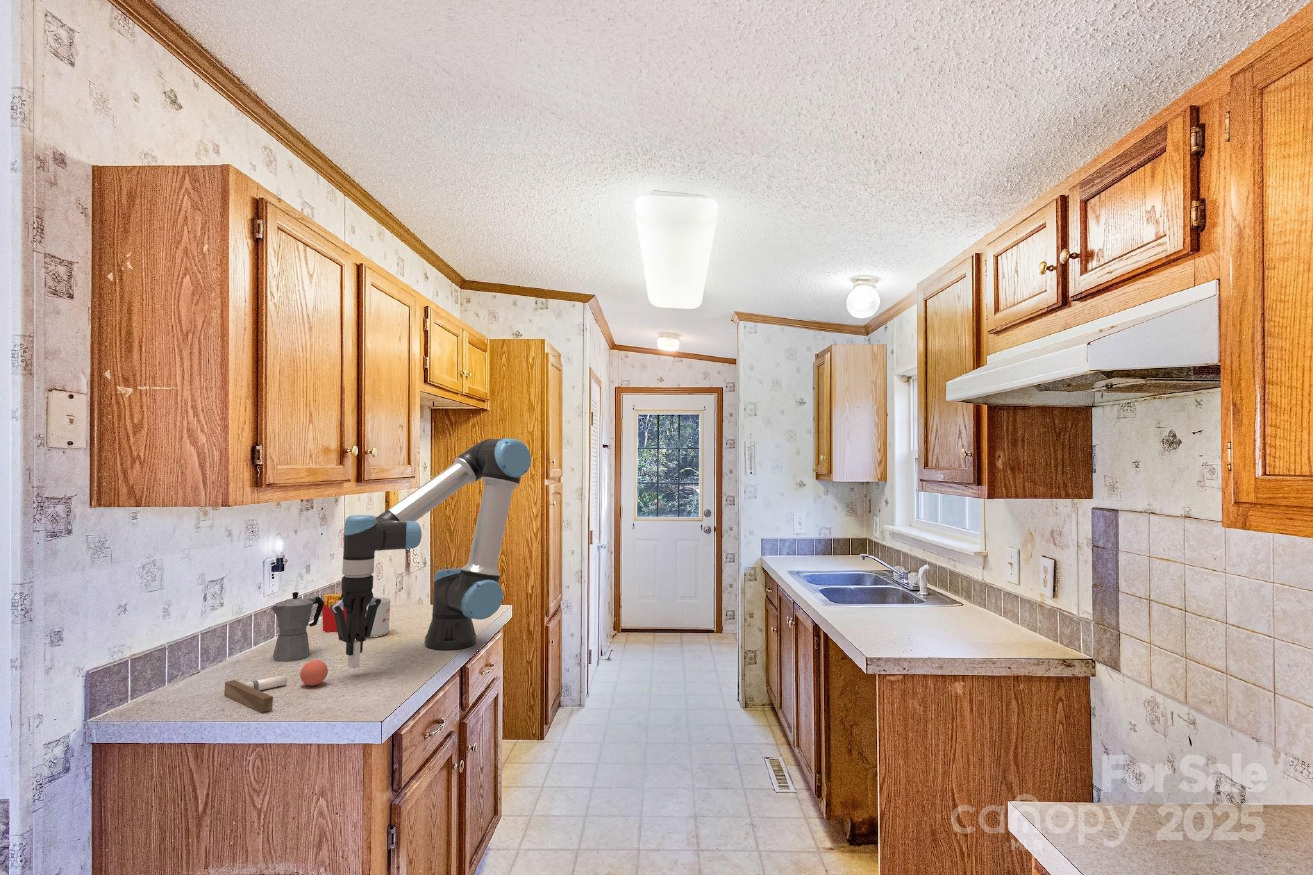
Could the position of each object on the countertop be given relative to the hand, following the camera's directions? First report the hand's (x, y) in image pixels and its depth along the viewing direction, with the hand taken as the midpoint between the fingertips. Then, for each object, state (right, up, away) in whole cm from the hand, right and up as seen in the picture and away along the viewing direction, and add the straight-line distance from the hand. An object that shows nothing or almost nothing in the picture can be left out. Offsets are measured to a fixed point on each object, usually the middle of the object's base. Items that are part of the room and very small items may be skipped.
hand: (353, 666), depth 167 cm
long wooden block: (-14, -1, -21) cm, 25 cm away
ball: (-6, +1, -8) cm, 10 cm away
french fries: (-26, -4, +43) cm, 51 cm away
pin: (-13, 0, -9) cm, 15 cm away
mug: (-13, -4, +39) cm, 41 cm away
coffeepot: (-24, -3, +15) cm, 28 cm away
